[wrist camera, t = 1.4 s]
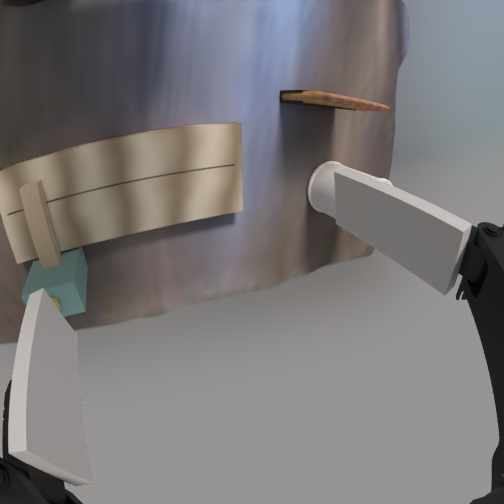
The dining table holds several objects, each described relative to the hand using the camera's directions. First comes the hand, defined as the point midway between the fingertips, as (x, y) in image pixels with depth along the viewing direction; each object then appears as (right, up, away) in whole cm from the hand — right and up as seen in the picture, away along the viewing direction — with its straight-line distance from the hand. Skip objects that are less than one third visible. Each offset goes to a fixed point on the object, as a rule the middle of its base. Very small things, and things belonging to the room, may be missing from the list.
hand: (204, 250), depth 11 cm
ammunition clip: (+10, +23, +27) cm, 37 cm away
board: (-15, +8, +21) cm, 27 cm away
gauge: (-24, +3, +19) cm, 31 cm away
